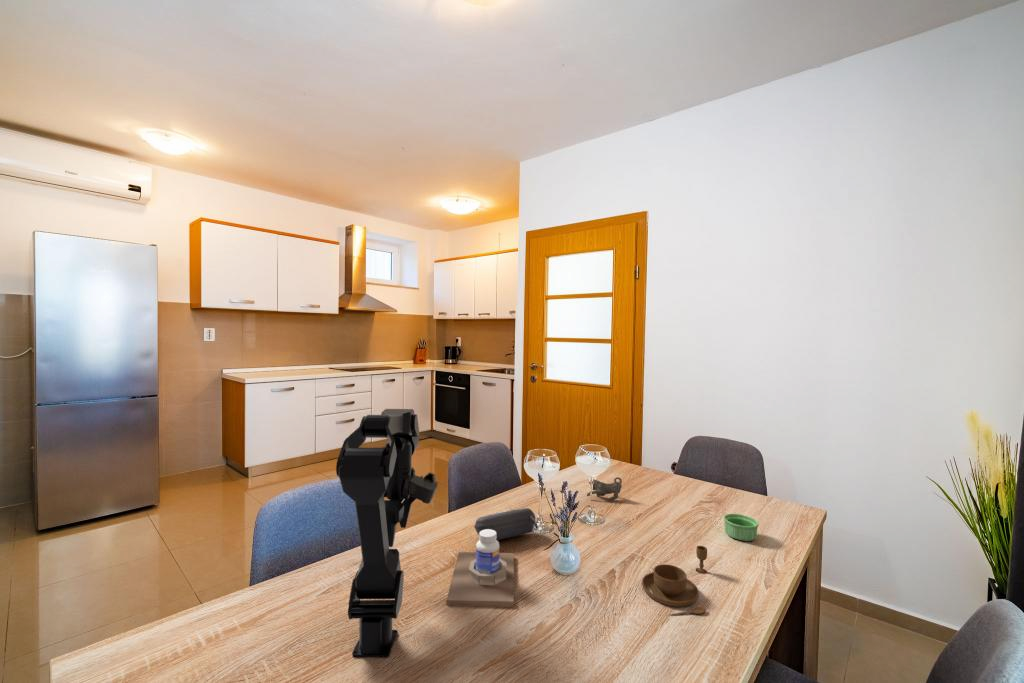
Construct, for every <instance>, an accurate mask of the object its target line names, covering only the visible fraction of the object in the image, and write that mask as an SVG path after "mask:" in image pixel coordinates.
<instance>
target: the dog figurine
mask: <svg viewBox="0 0 1024 683" xmlns="http://www.w3.org/2000/svg"><path fill="white" fill-rule="evenodd" d="M593 480H594V484H593V489H592V491H590V492H587V493H586V496H587V497H590V496H591V495H590V493H591V492H592V495H595V496H597V497H604V496H606V495H611V494H613V496H611V497H609V498H608V501H610V502H612V501H614V500H616V499H618V498H619V494H620V493H621V489H622V483H623V481H622V478H621V477H615V478H614V479H613V482H611V483H605V482H603V481H600V480H598V479H593ZM617 480H619V481H617ZM588 483H589V484H590V482H589V481H588Z"/></svg>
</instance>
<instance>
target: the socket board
mask: <svg viewBox="0 0 1024 683" xmlns="http://www.w3.org/2000/svg"><path fill="white" fill-rule="evenodd" d="M514 558H515V553H514V552H499V571H498V572H496V573H494V574H482V573H480V572H478V571H476V551H475V552H473V551H469V552H468V551H459V552H458V553H457V556H456V562H455V564H454V570H453V572H452V573H453V574H452V578H451V581H450V585H449V589H448V592H447V597H446V606H458V607H459V606H462V607H463V606H464V607H465V606H466V607H493V608H494V607H495V608H496V607H498V608H500V607H501V608H514V605H515V603H514V602H515V599H514V598H515V597H514V596H515V595H514V594H515V593H514V592H515V590H514V589H515V585H514V584H515V583H514V582H515V576H514V575H515V567H514V566H515V561H514V560H515V559H514Z"/></svg>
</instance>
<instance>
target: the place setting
mask: <svg viewBox="0 0 1024 683" xmlns="http://www.w3.org/2000/svg"><path fill="white" fill-rule="evenodd" d="M695 551H696V557H697V559H698V560H699V564H698V566H699V567H697V568H695V572H696V573H698V574H702V575H707V574H708V571H707V570H706V569H705V567H704V566H705V565H704V561H706V560H707V558H708V548H707V547H706V546H703V545H697V546H696V549H695ZM687 575H688V574H687V573H686V572H685V571H684V570H683V569H682V568H680V567H678V566H675V565H672V564H665V563H664V564H658V565H656V566H655V567H654V568H653V572H649V573H647V574H645V575H644V576H643V577H642V579H641V585H642V588H643V591H644V592H645V594H646V595H647V596H648V597H650V598H651V599H652V600H654V601H656V602H657V603H660V604H662V605H665V606H668V607H674V608H684V607H688V606H691V605H693V604H694V603H696V601H697V600H698V598H699V589H698V587H697V585H695V583H694V582H692V581H691V580H690V579H688V578H687V577H688V576H687ZM648 589H650V591H649V590H648ZM706 611H707V609H706V608H705V607H701V606H696V607H693V608H691V609H690V610H686V611H681V612H673V613H671V614H669V616H670V617H676V616H681V615H684V614H694V615H701V614H704V613H705V612H706Z"/></svg>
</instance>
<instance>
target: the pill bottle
mask: <svg viewBox="0 0 1024 683" xmlns="http://www.w3.org/2000/svg"><path fill="white" fill-rule="evenodd" d="M496 538H497V534H496V531H494V530H491V529H485V530H482V531H480V533H479V535H478V539H479V540H478V541H476V545H475V552H476V571H478V572H480V573H482V574H494V573H496V572H498V571H499V553H500V541H499V540H496Z"/></svg>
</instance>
